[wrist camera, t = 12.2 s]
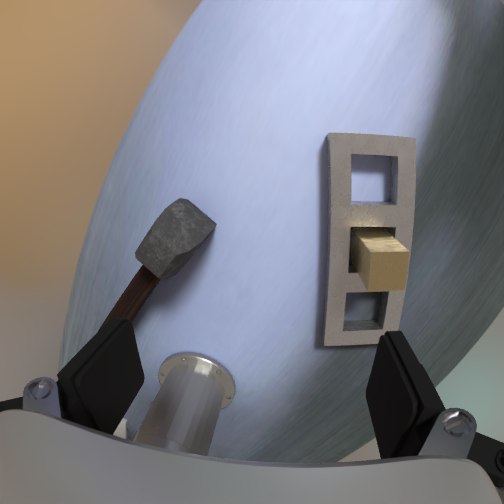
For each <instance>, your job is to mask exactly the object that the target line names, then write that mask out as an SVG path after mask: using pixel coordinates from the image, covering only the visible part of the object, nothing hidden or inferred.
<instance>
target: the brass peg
mask: <svg viewBox="0 0 504 504" xmlns="http://www.w3.org/2000/svg"><path fill="white" fill-rule="evenodd" d="M409 253H410V251H409V250H408V249H406V248H405V247H404V246H403V245H402V244H401V243H400V242H398V241H397V240H396V239H395V238H394V237H393V236H392V235H390V234H389V233H388V232H387V231H386V230H385V229H383V228H371V229H352V249H351V261H352V263H353V265H354V267H355V269H356V270H357V272H358V274H359V276H360V278H361V280H362V282H363V284H364V286H365V287H366V289H367V291H368V292H376V291H396V290H405V286H406V279H407V271H408V263H409Z"/></svg>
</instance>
